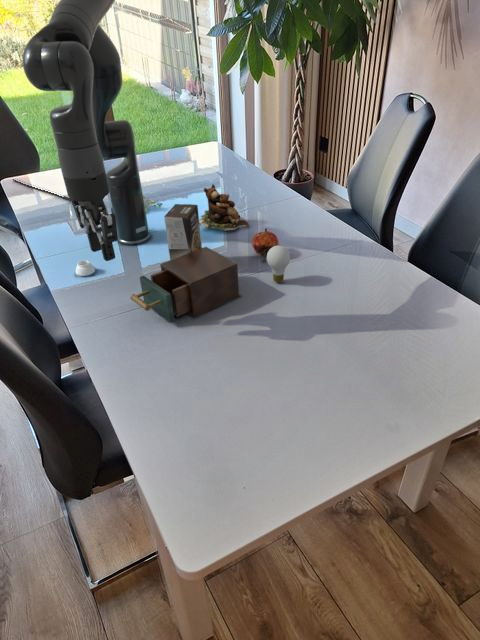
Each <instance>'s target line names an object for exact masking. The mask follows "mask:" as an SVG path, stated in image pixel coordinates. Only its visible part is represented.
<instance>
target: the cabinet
mask: <svg viewBox="0 0 480 640" xmlns="http://www.w3.org/2000/svg"><path fill="white" fill-rule="evenodd" d="M159 265H160V271H163V270H166V271H168V272H169V273H171V274H172V275H174V276H176V277H177V278H179V279H180V280H182V281H183V282H185V283H186V284H188V285H189V290H190V298H191V306H192V310H191V311H189V312H187V314H190V315H191V316H193V318H194V317H195V318H196V317H198V316H200V315H202V314H205V313H206V312H209V311H211V310H213V309H215V308H218V307H219V306H221V305H224V304H226V303H228V302H230V301H232V300H234V299H236V298H239V297H240V286H239V284H240V283H239V268H238V263H237V262H236V261H234V260H232V259H230V258H228V257H226V256H224V255H222V254H220V253H219V252H217V251H215V250H213V249H211V248H209V247H208V246H204V247H202V248H201V249H198V250H196V251H193V252H191V253H188V254H185V255H183V256H180V257H178V258H175V259H172V260H170V259H169V260H168V261H164V262H162V263H160V264H159Z"/></svg>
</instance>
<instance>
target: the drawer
mask: <svg viewBox="0 0 480 640" xmlns="http://www.w3.org/2000/svg"><path fill="white" fill-rule="evenodd" d="M149 277H150V278H148V277H147V276H145V275H142V276H139V282H140V288H141V292H140V293H138V294H135V293H132V294H131V295H130V300H132V301H133V302H134V303H136V304H137V305H138V306H139V307H141V308H142V309H143V310H144V311H146V312H149V311H150V310H152V311H154V312H155V313H156V314H158V315H159V316H160V317H161V318H163V319H164V320H165V321H167V322H168V323H170V324H171V323H174V322H175V316H176V317H180V316H182V315H184V314H188V312H189V311H191V310H192V306H191V298H190V290H189V285H188V284H186V283H185V282H183V281H182V280H180V279H179V278H177V277H176V276H174V275H172V274H171V273H169V272H168V271H166V270H163V271H161V270H160V271H158V272H155V273H153V274H150V276H149ZM142 297H143V299H142ZM174 315H175V316H174Z"/></svg>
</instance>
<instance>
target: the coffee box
mask: <svg viewBox="0 0 480 640" xmlns="http://www.w3.org/2000/svg"><path fill="white" fill-rule="evenodd" d="M198 207H199V206H198V204H192V203H183V204H181V203H175V204H174V205H173V206H172V207H171V208H170V210H169V211H167V212H166V214H165V215H164V216H163V218H164V219H163V220H164V225H165V234H166V239H167V240H166V241H167V249H168V255H169V261H170V260H172V259H175V258H178V257H180V256H183V255H185V254H188V253H191V252H193V251H196V250H198V249H201V248H203V246H202V236H201V225H200V223H199V220H200V218H199V217H200V216H199V208H198Z"/></svg>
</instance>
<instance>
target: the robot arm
mask: <svg viewBox="0 0 480 640" xmlns="http://www.w3.org/2000/svg"><path fill="white" fill-rule="evenodd" d="M115 2H116V0H59V1H58V3H57V4H56V5H55V7H54V8H53V9H54V10H53V12H52V14H51V17H50V19H49V21H48V24H46V25H44V26H43V27H42V28H41V29H40V30H38V31H37V32H36V33H35V34H34V35H32V37H30V39H29V40H28V42H27V43H26V44H25V47H24V49H23V53H22V69H23V71H24V74H25V76H26V79H27V80H28V82H29V84H31V85H32V86H33V87H34V88H35V89H37V90H39V91H43V92H72V100H71V103H67V104H64V105H60V106H57V107H54V108H53V109H51V111H49V112H50V113H49V122H50V127H51V130H52V134H53V138H54V142H55V146H56V150H57V158H58V159H57V160H58V163H59V166H60V167H59V168H60V170H61V171H60V172H61V174H62V178H63V182H64V187H65V190H66V193H67V196H66V195H63V196H64V197H62V196H59V195H57V194H54V193H51V192H48V191H49V190H48V191H45V190H46V189H45V190H41V189H38V188H35V187H32V186H29V185H26V184H23V183H21V182H18V181H16V180H14V179H13V178H12V181H13V182H15V183H18V184H20V185H23V186H24V187H25V186H26V187H27V188H31V189H34V190H37V191H40V192H43V193H46V194H50V195H51V196H55V197H58V198H61V199H64V200H66V201H68V202H71V205H72V207H73V211H74V213H75V216H76V219H77V221H78V225H79V227H80V229H83V231H84V233H85V235H86V236H87V239H88V240H87V241H88V244H89V247H90V250H91V252H93V253H96V252H99V251H101V254H102V257H103V260H104V261H106V262H109V261H112V260H115V258H116V253H115V248H114V242H119V243H121V244H123V245H127V246H129V245H130V246H133V245H139V244H143V243H145V242H147V241H149V239H150V238H151V234H150V231H149V229H150V228H149V225H148V224H149V223H148V217H147V211H145V210H146V207H145V205H144V199H143V195H144V194H143V188H142V182H141V176H140V171H139V165H138V158H137V149H136V141H135V140H136V139H135V133H134V130H133V127H132V125H131V123H130V122H129V120H126V119H120V120H119V119H118V120H107V121H106V118H107V116H108V113H109V111H110V109H111V108H112V106H113V104H114V103H115V101H116V100H117V98H118V96H119V95H120V93H121V90H122V88H123V72H122V62H121V61H122V60H121V57H120V53H119V51H118V48H117V47H116V45H115V44H114V42H113V40H112V39H111V38H110V36H109V35H108V34H107V33H106V31H105V30H104V29H103V27H102V26H101V24H100V23H101V22H102V20H103V19H104V18H105V16H106V15H107V13H109V10H110V9H111V7H112V6H113V5H114V3H115ZM122 158H123V159H122ZM114 159H122V161H121V162H120V163H119V164H118V165H116V166H114V167H113V168H111V169H108V171H107V172H106V168H105V162H104V160H114ZM108 195H109V199H110V204H111V207H110V210H111V213H109V211H108V209H107V206H106V204H105V202H104V200H105V198H106V197H107V196H108Z"/></svg>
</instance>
